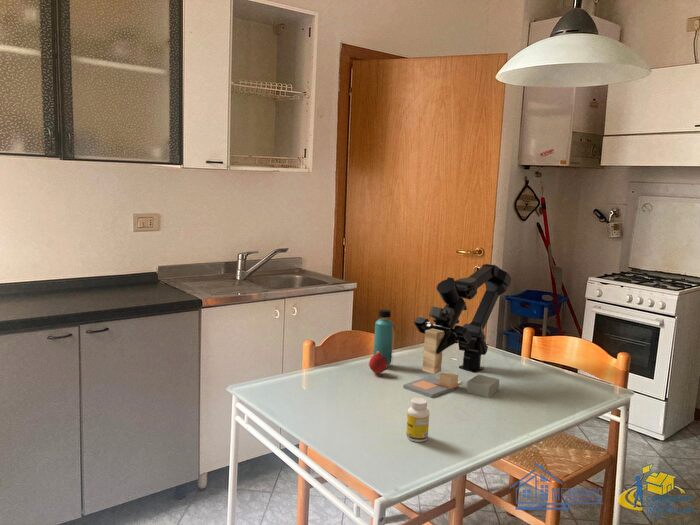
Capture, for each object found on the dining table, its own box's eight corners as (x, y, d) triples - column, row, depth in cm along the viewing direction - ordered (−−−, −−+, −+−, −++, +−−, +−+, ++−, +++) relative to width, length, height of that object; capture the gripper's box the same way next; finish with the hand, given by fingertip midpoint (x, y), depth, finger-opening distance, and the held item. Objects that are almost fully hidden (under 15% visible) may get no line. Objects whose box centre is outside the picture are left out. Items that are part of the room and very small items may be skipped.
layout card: (444, 377, 195) (444, 375, 195) (462, 382, 190) (462, 381, 190) (435, 380, 191) (435, 378, 191) (453, 385, 187) (453, 384, 187)
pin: (429, 367, 188) (432, 328, 186) (440, 371, 185) (443, 331, 184) (422, 370, 185) (425, 330, 183) (433, 373, 182) (436, 333, 180)
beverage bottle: (391, 369, 200) (395, 312, 197) (372, 368, 200) (375, 311, 197) (390, 364, 206) (394, 308, 204) (372, 363, 206) (375, 307, 204)
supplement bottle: (404, 433, 149) (406, 396, 147) (425, 433, 149) (427, 396, 148) (408, 442, 143) (410, 404, 142) (429, 442, 144) (432, 404, 143)
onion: (386, 372, 196) (387, 349, 195) (385, 378, 191) (387, 354, 190) (369, 371, 197) (370, 348, 196) (367, 376, 191) (369, 353, 190)
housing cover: (477, 384, 189) (478, 374, 188) (498, 389, 185) (499, 379, 185) (466, 392, 181) (467, 381, 181) (488, 397, 178) (489, 386, 177)
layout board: (431, 378, 193) (432, 366, 193) (461, 387, 185) (462, 375, 185) (403, 387, 182) (404, 375, 182) (433, 398, 175) (434, 385, 174)
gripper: (419, 292, 191) (397, 330, 184) (469, 302, 179) (448, 343, 172) (430, 313, 198) (409, 350, 191) (480, 323, 186) (460, 363, 179)
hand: (430, 351), depth 183 cm, fingers closed on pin, 4 cm apart
